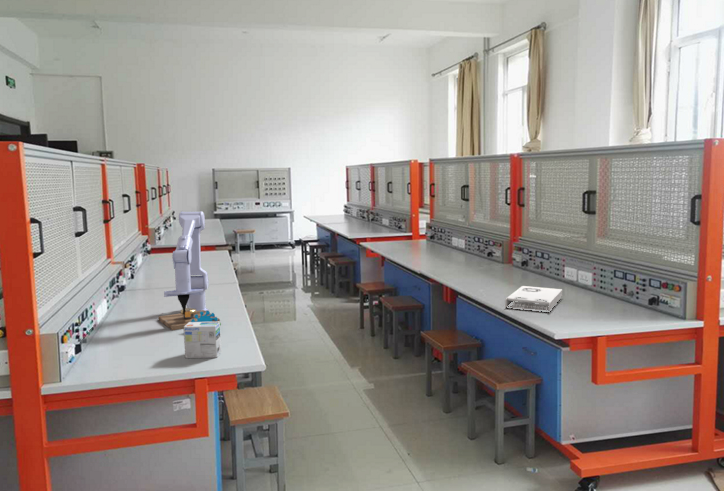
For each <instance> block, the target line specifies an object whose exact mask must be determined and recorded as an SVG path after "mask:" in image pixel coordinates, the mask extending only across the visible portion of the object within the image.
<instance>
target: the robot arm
mask: <svg viewBox="0 0 724 491" xmlns="http://www.w3.org/2000/svg"><path fill="white" fill-rule="evenodd" d="M205 218H206V217H205V213H204V212H203V210H201V211H183V210H182V211H180V212H179V213H178V223H179V225H180V227H181V229H182V231H181V235H180V236H178V239H177V243H176V248H175V250H173V251H172V256H171V257H172V262H173V263H172V264H173V269H174V275H175V276H174V277H175V281H174V282H175V289H174V290H166V291H163V297H164V298H168V297H177V300H178V302H179V303H180V306H181V309H183V314H185V311H186V310H185V309H186V308H194V309H196V311H200V310H204V311H209V312H210V308H209V309H208V308H207V306H206V301H207V300H206V290H208V288H209V281H210V280H209V273H208V271H206V270H205V269H204V268H202V260H201V258H202V257H201V256H202V254H201V233H202V232H201V231H203V230H205V227H206V225H205V224H206V223H205V222H206V220H205Z"/></svg>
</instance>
